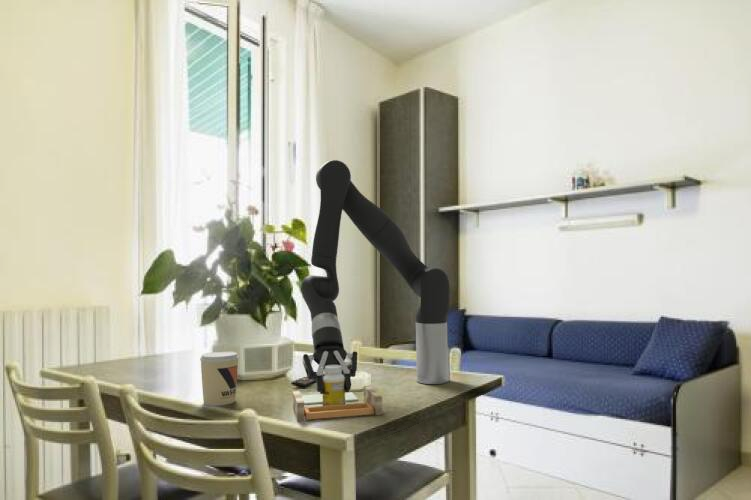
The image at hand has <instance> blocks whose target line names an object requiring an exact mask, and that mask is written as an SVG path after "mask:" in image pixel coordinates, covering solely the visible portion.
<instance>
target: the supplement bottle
mask: <svg viewBox="0 0 751 500" xmlns="http://www.w3.org/2000/svg"><path fill="white" fill-rule="evenodd" d="M341 372H342V368H341V365H327V366H325V369H324V373H325V375H322V377H323V385H324V393H323V403H322V406H328V405H341V404H346V402H345V393H346V392H345V377H344V376H343V375H342V374H341Z"/></svg>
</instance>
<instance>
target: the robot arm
mask: <svg viewBox="0 0 751 500" xmlns="http://www.w3.org/2000/svg"><path fill="white" fill-rule="evenodd" d="M351 179H352V176H351V170H350V169H349V166H348V165H347V164H346V163H344V161H341V160H338V159H333V160H329V161H327V162H325V163H323V164H322V165H321V166H320V167H318V170H317V172H316V175H315V182H316V186H317V187H318V189H319V190H320V205H319V212H318V218H317V221H316V226H315V231H314V236H313V243H312V249H311V260H310V264H311V265H312V266H313V267H316V268H318V269H322V270H324V272H325V274H326V276H322V275H314V274H313V275H307V276H305V277H304V278H303V279H302V282H301V285H300V293H301V295H302V298H303V301H304V302H305V304H306V306H307V308H308V310H309V312H310V319H311V338H312V345H313V353H312V354H309V355H308V354H307V353H304V354H303V356H302V364H303V367H304V370H305V373H306V376H307V379H308V380H310V381H311V380H314V381H315V384H316V391H317V392H318V393H319V394H323V393H324V385H323V376H324V375H323V374H324V373H325V366H327V365H341V368H342V372H341V374H342V375H343V376H344V377H345V393H347V392H349V391H350V390H351V389H352V380H351V378H354V377H356V374H357V370H358V369H357V368H358V352H357V351H352V352H347V350H346V349H345V347H344V342H343V341H344V340H343V335H342V330H341V329H342V328H341V323H340V321H339V318H338V312H337V307H336V303H334V301H336V300H337V298H338V296H339V293H340V285H339V279H338V274H337V273H338V272H337V257H338V251H339V250H338V248H339V239H340V238H339V237H340V228H341V220H342V213H343V212H344V213H345V215H347V217H348V218H349V220H350V221H351V222H352V223H353V224H354V226H355V227H356V228H357V229H358V231H360V233H361V234H362V235H363V236H364V238H365V239H366V240H367V241H368V242H369V243H370V244H371V245H372V246H373V248H375V250H377V251H378V253H379V254H380V255H382V257H383V258H384V259H385V260H386V261H387V262H388V263H389V264H390V265H392V267H393V268H394V269H395V270H396V271H397V272H398V273H399V274H400V275H401V277H402V278H403V280H404V281H405V282H406V284H407V285H408V286H409V288H410V289H411V290H412V292H413V293H414V294H415V295H416V296H418V297H419V298H420V299H419V300H420V301H419V302H420V303H419V308H418V310H417V312H416V313H415V345H416V346H415V351H416V355H415V357H416V361H415V363H416V382H417V383H421V384H423V385H424V384H427V385H440V384H441V385H442V384H446V383H448V382H449V381H450V380H451V359H450V357H451V356H450V354H451V352H450V351H451V350H450V348H449V347H448V346H449V345H448V315H449V313H450V298H451V296H450V295H451V291H450V288H451V287H450V280H449V276H448V275H447V273H446V272H445V271H444V270H443V269H441V268H437V267H430V268H429V267H428V266H427V265H426V264H425V263H423V262H422V260H421V259H419V258H418V257H417V256H416V255H415V253H414V252H413V251H412V249H411V247H410V245H409V242H408V240H407V239H406V236H405V235H404V234H405V233H403V231H402V229H401V228H400V226H398V224H396V222H395V221H394V219H392V218H391V217H390V215H388V214H387V213H386V212H385V211H384V210H383V209H381V208H380V207H379V206H377V204H375V203H373V202H372V201H371V200H369V199H368V198H367V197H366V196H364V194H362V192H360V190H359V189H358V188H357V187H356V186H355V184H354V183H353V182H352V180H351ZM346 359H348V362H349V363H350V369H349V368H348V366H347V364H346V362H345V361H346ZM313 361H314V362H315V363H316V364H317V365H318V368H317V370H316V371H314V368H313V366H312V364H313Z"/></svg>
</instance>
